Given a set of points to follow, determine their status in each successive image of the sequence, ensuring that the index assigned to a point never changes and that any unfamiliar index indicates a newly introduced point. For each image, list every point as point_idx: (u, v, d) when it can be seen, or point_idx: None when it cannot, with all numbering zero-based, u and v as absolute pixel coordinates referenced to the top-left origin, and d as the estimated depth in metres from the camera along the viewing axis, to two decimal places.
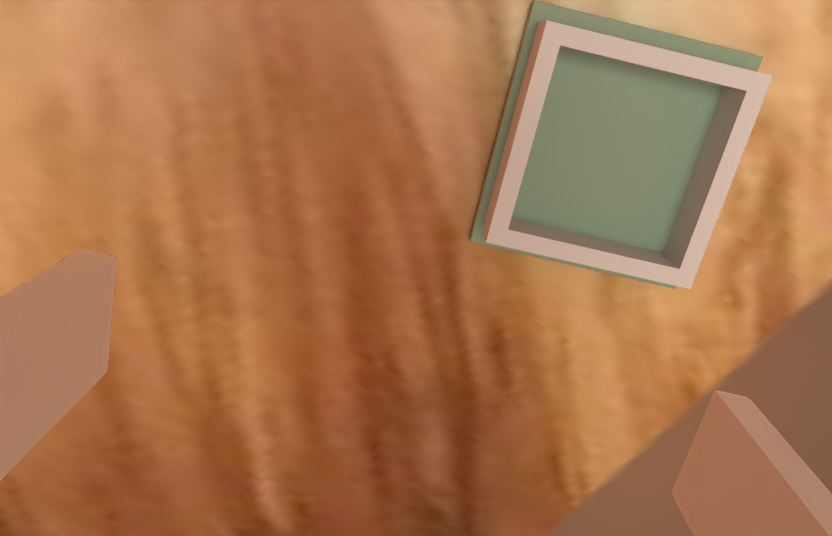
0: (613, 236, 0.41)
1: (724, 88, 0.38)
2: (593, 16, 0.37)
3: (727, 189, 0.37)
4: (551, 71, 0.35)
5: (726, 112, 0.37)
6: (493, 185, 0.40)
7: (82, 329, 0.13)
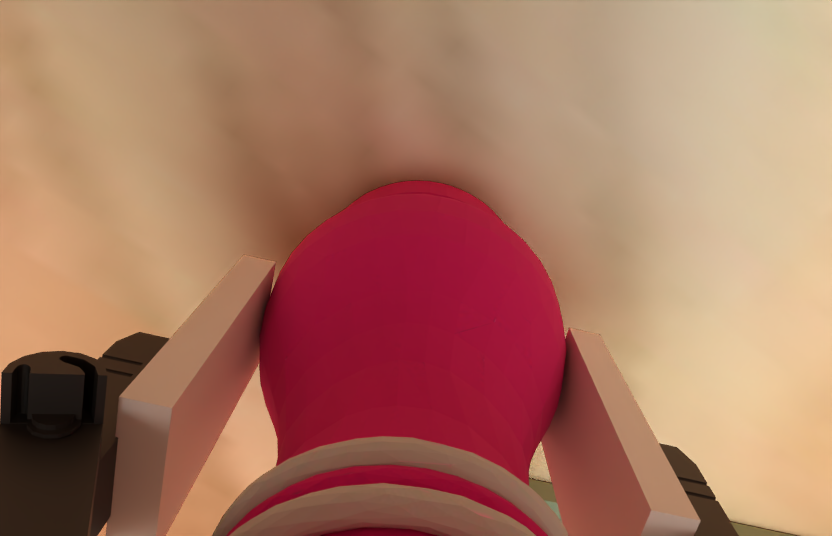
0: None
1: None
2: None
3: None
4: None
5: None
6: None
7: (254, 326, 0.15)
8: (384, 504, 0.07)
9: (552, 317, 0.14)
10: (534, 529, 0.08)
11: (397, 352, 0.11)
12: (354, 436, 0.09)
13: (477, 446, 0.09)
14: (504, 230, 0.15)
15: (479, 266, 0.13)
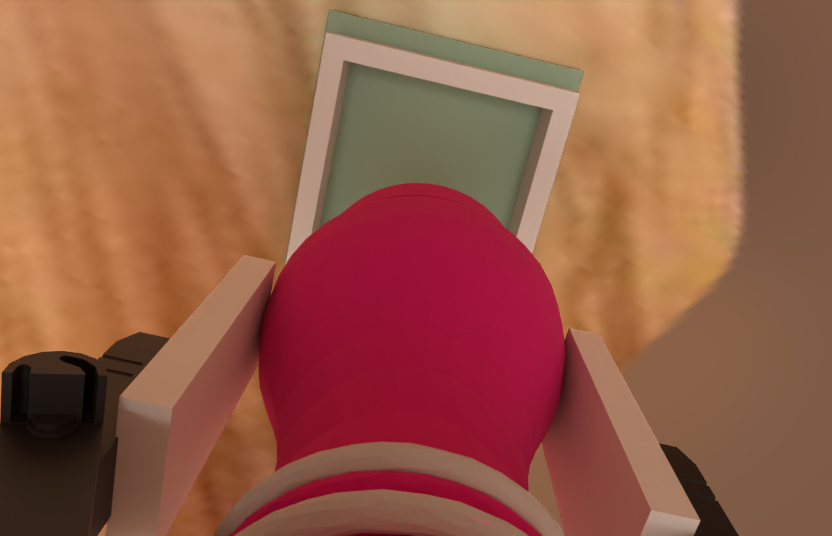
0: None
1: None
2: (395, 27, 0.34)
3: (541, 217, 0.33)
4: (336, 89, 0.32)
5: (540, 132, 0.33)
6: None
7: (254, 326, 0.15)
8: (383, 510, 0.07)
9: (551, 320, 0.14)
10: (533, 535, 0.08)
11: (396, 357, 0.11)
12: (353, 441, 0.09)
13: (476, 451, 0.09)
14: (503, 233, 0.15)
15: (478, 270, 0.13)
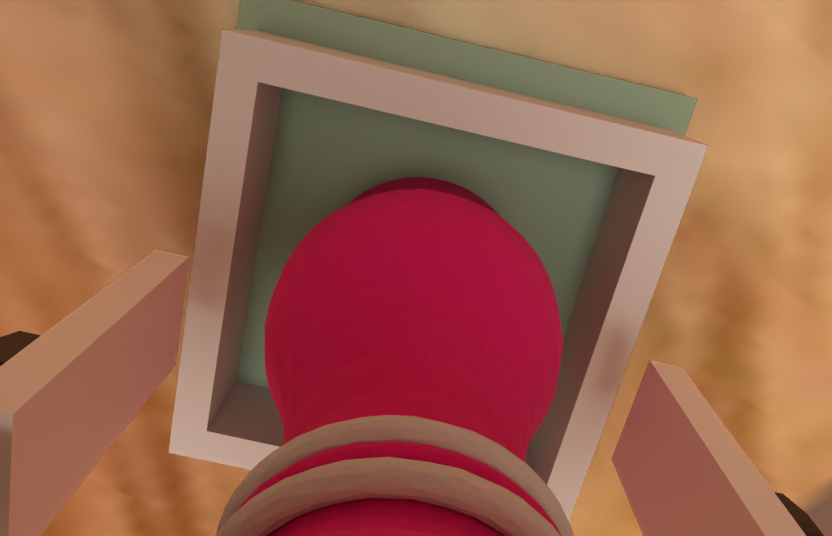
0: None
1: None
2: (361, 19, 0.19)
3: (624, 364, 0.18)
4: (247, 136, 0.17)
5: (623, 210, 0.19)
6: None
7: (160, 324, 0.14)
8: (388, 476, 0.08)
9: (549, 308, 0.15)
10: (530, 502, 0.08)
11: (399, 340, 0.11)
12: (359, 417, 0.10)
13: (476, 427, 0.10)
14: (502, 224, 0.16)
15: (478, 259, 0.14)
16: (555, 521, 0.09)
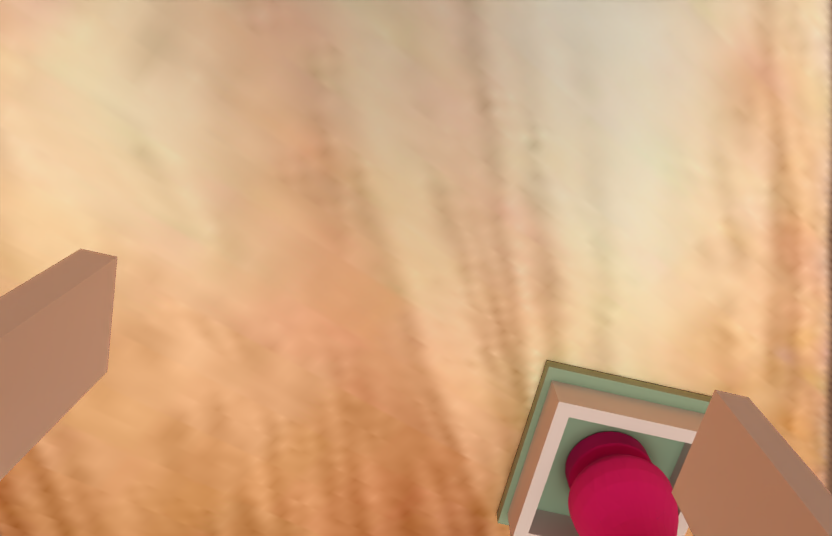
0: None
1: None
2: (593, 377, 0.49)
3: None
4: (561, 433, 0.47)
5: None
6: (516, 486, 0.52)
7: (82, 329, 0.13)
8: None
9: (675, 503, 0.45)
10: None
11: (644, 528, 0.41)
12: None
13: None
14: (657, 471, 0.46)
15: (656, 492, 0.44)
16: None
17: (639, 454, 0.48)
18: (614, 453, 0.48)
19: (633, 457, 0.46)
